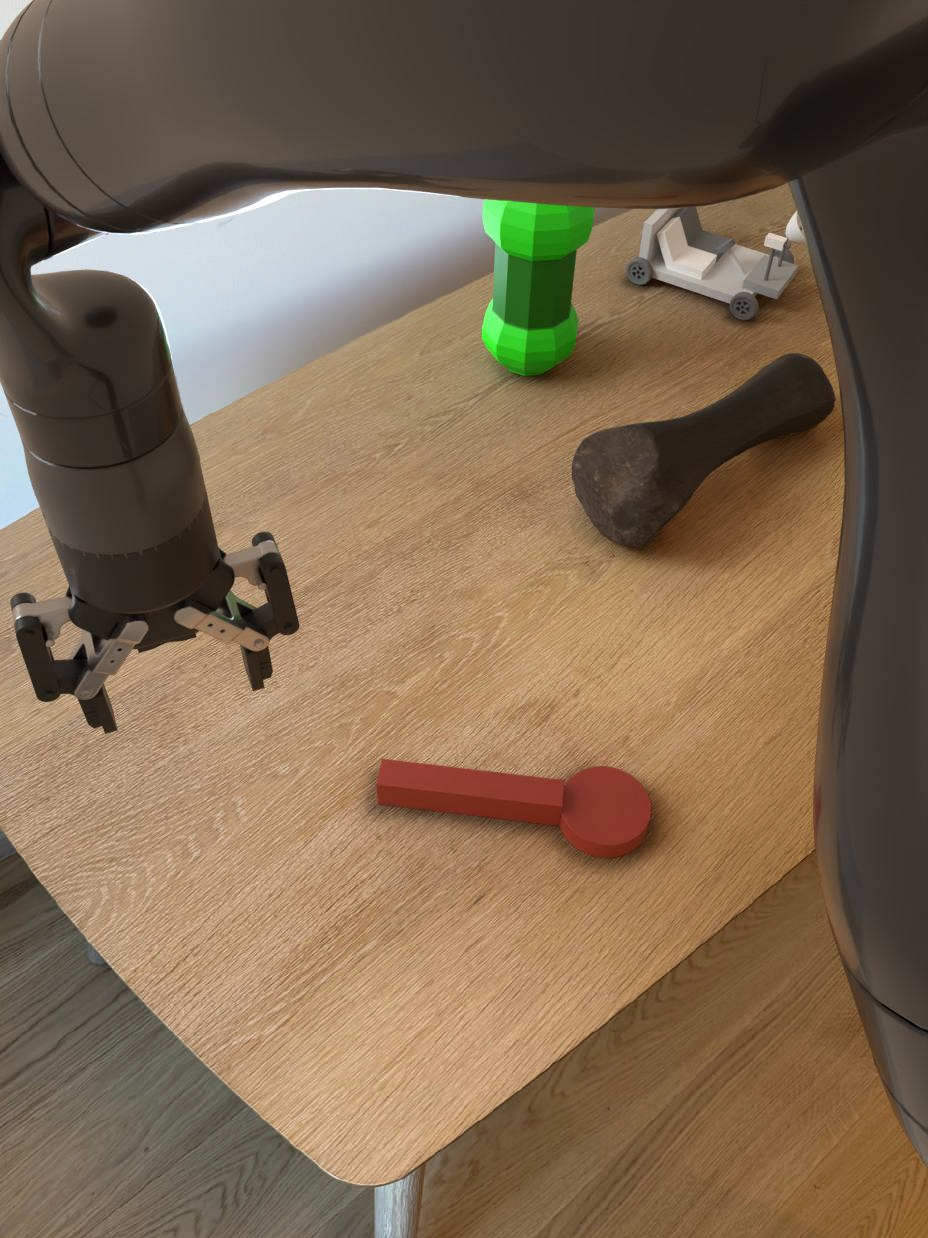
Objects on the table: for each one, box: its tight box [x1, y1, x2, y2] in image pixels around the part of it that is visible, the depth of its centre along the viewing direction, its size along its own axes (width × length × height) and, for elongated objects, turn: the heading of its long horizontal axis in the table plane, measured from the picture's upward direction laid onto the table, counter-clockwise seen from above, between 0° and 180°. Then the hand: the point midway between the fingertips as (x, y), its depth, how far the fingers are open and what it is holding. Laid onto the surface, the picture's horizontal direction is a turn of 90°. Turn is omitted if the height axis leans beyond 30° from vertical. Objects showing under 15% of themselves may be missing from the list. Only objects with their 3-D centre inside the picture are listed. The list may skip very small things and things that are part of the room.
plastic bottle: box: [481, 199, 596, 377], centre depth 104 cm, size 10×10×25 cm
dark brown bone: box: [571, 352, 837, 551], centre depth 100 cm, size 11×10×28 cm
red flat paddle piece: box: [375, 758, 652, 859], centre depth 77 cm, size 19×6×3 cm, turn 83°
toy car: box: [625, 207, 806, 321], centre depth 120 cm, size 18×10×12 cm
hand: (183, 699), depth 64 cm, fingers open, 8 cm apart
